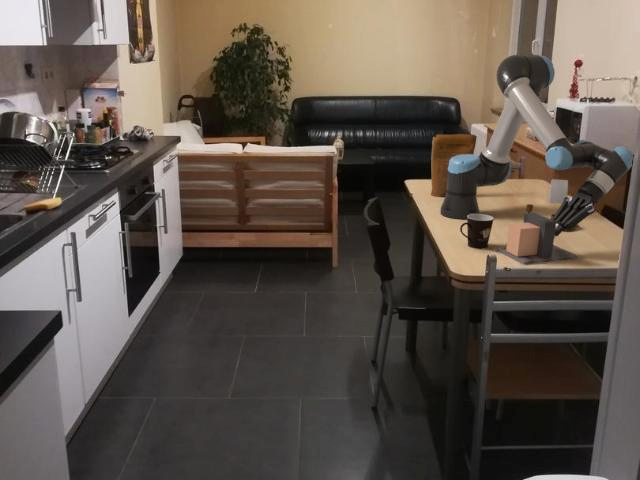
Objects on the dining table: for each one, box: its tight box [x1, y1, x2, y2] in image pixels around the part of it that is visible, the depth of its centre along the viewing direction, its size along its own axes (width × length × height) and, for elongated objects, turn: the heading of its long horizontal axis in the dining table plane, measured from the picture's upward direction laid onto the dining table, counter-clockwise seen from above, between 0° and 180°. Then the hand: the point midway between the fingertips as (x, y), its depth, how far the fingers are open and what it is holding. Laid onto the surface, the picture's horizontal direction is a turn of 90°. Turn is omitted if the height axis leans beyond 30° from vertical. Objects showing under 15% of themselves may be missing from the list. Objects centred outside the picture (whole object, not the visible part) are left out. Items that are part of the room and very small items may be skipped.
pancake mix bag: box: [430, 133, 478, 198], centre depth 277 cm, size 7×19×28 cm, turn 85°
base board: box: [497, 244, 579, 265], centre depth 204 cm, size 20×14×1 cm
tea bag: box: [547, 178, 569, 205], centre depth 274 cm, size 4×7×10 cm, turn 80°
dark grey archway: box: [523, 212, 556, 258], centre depth 202 cm, size 4×11×12 cm, turn 19°
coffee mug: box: [459, 213, 495, 250], centre depth 211 cm, size 12×9×10 cm
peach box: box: [506, 222, 541, 257], centre depth 201 cm, size 10×6×9 cm, turn 109°
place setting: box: [525, 203, 583, 232], centre depth 240 cm, size 18×20×6 cm
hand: (545, 240), depth 204 cm, fingers closed
